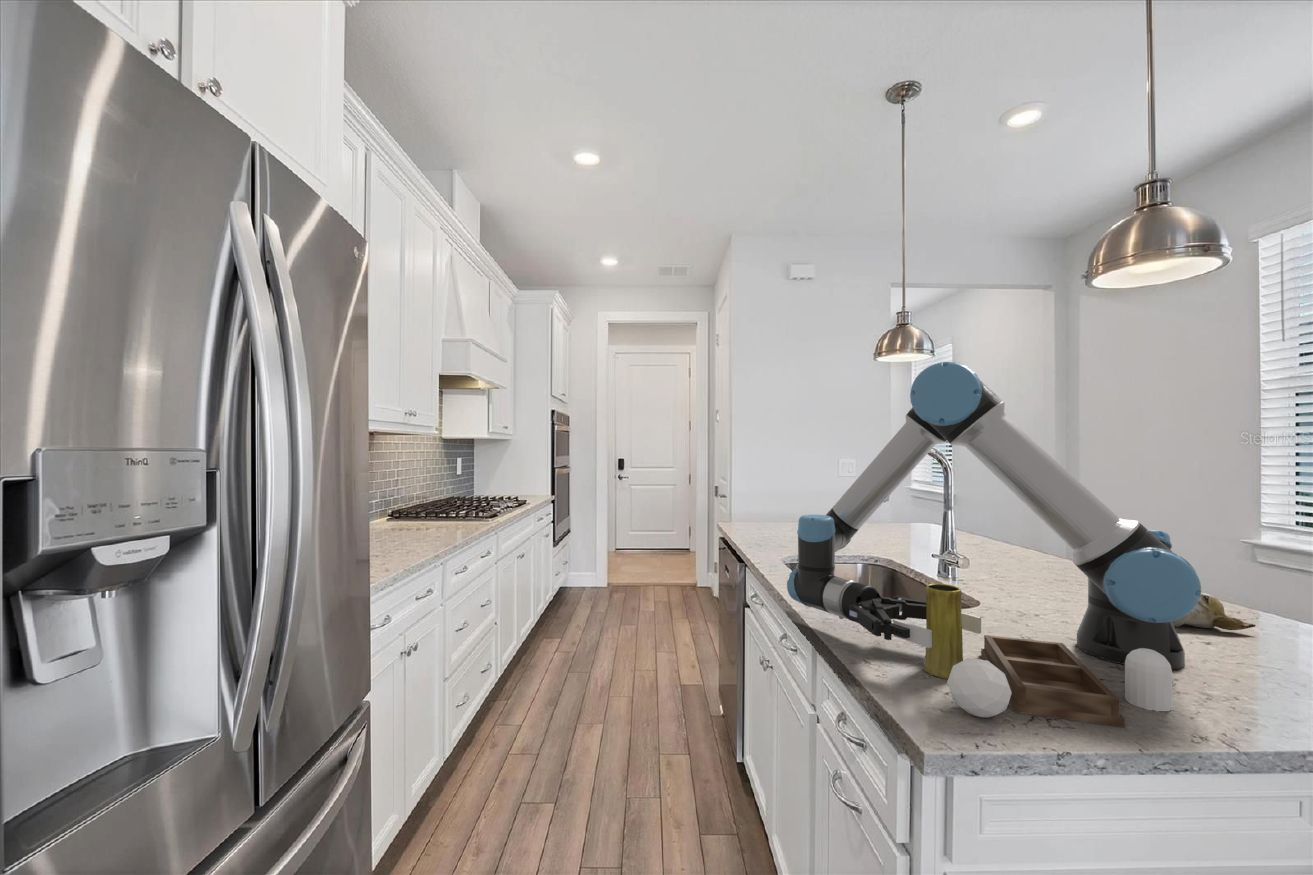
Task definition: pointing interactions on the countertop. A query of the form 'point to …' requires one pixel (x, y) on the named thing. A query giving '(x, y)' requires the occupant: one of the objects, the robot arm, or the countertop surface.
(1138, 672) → the white dome-topped block
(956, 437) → the robot arm
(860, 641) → the countertop surface
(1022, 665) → the tray
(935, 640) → the vase
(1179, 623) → the ceramic sculpture
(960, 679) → the ball
